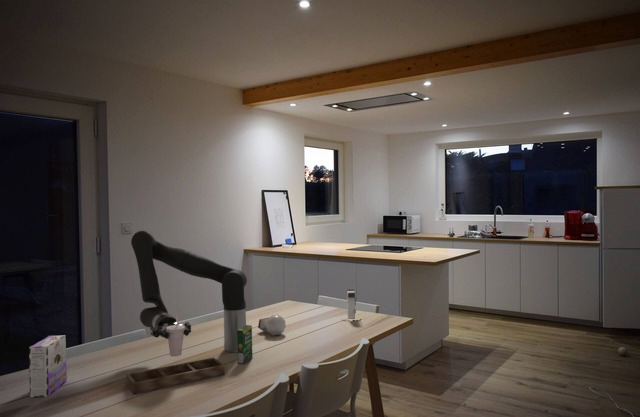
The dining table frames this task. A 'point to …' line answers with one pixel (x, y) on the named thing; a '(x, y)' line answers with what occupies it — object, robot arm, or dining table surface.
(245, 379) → the dining table surface
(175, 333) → the smoothie
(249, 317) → the dining table surface
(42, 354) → the candy box
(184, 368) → the tray
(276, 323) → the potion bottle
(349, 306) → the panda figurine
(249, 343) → the coffee box
